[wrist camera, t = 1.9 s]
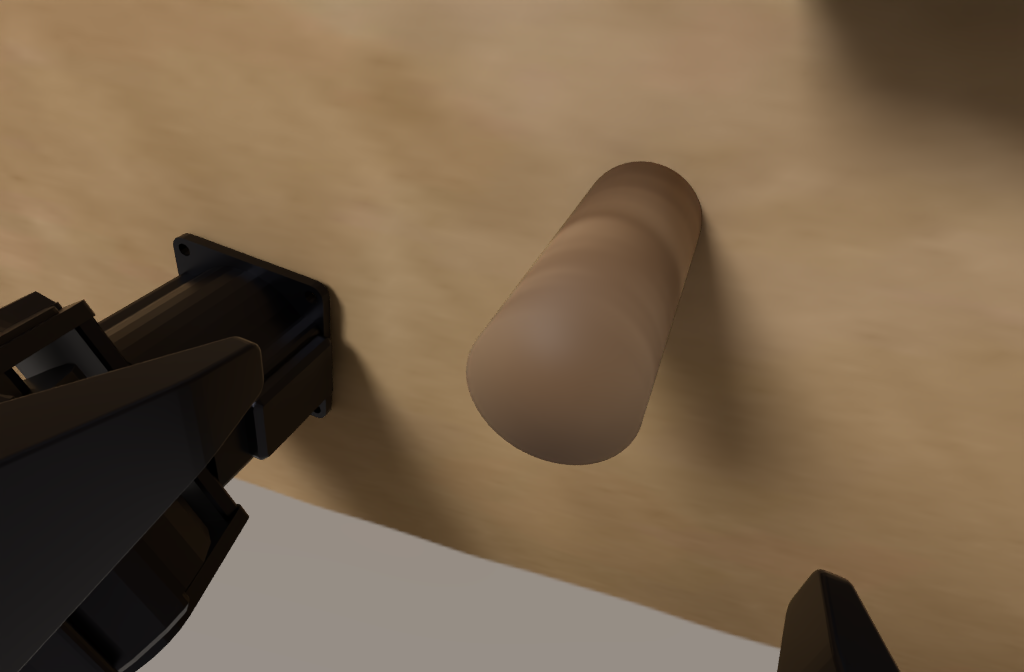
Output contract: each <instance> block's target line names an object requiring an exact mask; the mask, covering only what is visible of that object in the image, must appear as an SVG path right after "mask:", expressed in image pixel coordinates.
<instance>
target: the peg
mask: <svg viewBox="0 0 1024 672" xmlns="http://www.w3.org/2000/svg"><path fill="white" fill-rule="evenodd" d="M701 226H702V212H701V207H700V203H699V200H698V198H697V196H696V194H695V192H694V190H693V189H692V187H691V186H690V185H689V183H688V182H687V181H686V180H685V179H684V178H683V177H682V176H680V175H679V174H678V173H676V172H675V171H673V170H671V169H669V168H668V167H665V166H663V165H660V164H656V163H652V162H631V163H625V164H622V165H619V166H617V167H615V168H613V169H611V170H609V171H608V172H606V173H605V174H604V175H602V176H601V177H600V178H599V179H598V180H597V181H596V182H595V184H594V185H593V186H592V188H591V189H590V190H589V192H588V193H587V194H586V196H585V197H584V198H583V199H582V201H581V202H580V203H579V205H578V206H577V207H576V209H575V210H574V211H573V213H572V214H571V215H570V217H569V218H568V219H567V221H566V222H565V223H564V224H563V226H562V227H561V228H560V230H559V231H558V232H557V234H556V235H555V236H554V238H553V239H552V240H551V242H550V243H549V244H548V246H547V247H546V248H545V250H544V251H543V252H542V253H541V255H540V256H539V257H538V259H537V260H536V261H535V263H534V264H533V265H532V267H531V268H530V269H529V271H528V272H527V273H526V275H525V276H524V277H523V279H522V280H521V281H520V282H519V284H518V285H517V286H516V288H515V289H514V290H513V292H512V293H511V294H510V296H509V297H508V298H507V300H506V301H505V302H504V304H503V305H502V306H501V307H500V309H499V310H498V311H497V313H496V314H495V315H494V317H493V318H492V319H491V321H490V322H489V323H488V325H487V326H486V327H485V329H484V330H483V331H482V333H481V334H480V335H479V336H478V338H477V339H476V341H475V342H474V344H473V345H472V348H471V350H470V352H469V356H468V360H467V367H466V376H467V384H468V388H469V392H470V395H471V397H472V400H473V402H474V404H475V406H476V408H477V410H478V411H479V413H480V414H481V416H482V417H483V418H484V420H485V421H486V422H487V423H488V425H489V426H490V427H491V428H492V429H493V430H494V431H495V432H496V433H497V434H498V435H500V436H501V437H502V438H503V439H504V440H506V441H507V442H509V443H510V444H511V445H513V446H514V447H516V448H518V449H520V450H521V451H523V452H525V453H527V454H530V455H532V456H534V457H537V458H540V459H542V460H545V461H550V462H554V463H559V464H566V465H586V464H593V463H598V462H601V461H604V460H607V459H609V458H611V457H614V456H616V455H617V454H619V453H620V452H622V451H623V450H624V449H625V448H626V447H628V446H629V445H630V444H631V442H632V441H633V440H634V438H635V437H636V435H637V433H638V432H639V430H640V427H641V424H642V421H643V417H644V414H645V411H646V408H647V404H648V401H649V398H650V395H651V391H652V388H653V385H654V382H655V378H656V375H657V372H658V369H659V365H660V362H661V359H662V356H663V352H664V349H665V346H666V343H667V339H668V336H669V333H670V330H671V326H672V323H673V320H674V317H675V313H676V310H677V307H678V303H679V300H680V297H681V294H682V290H683V287H684V284H685V281H686V277H687V274H688V271H689V268H690V264H691V261H692V258H693V255H694V251H695V248H696V245H697V242H698V238H699V235H700V232H701Z"/></svg>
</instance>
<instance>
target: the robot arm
mask: <svg viewBox="0 0 1024 672" xmlns="http://www.w3.org/2000/svg"><path fill="white" fill-rule="evenodd" d="M173 247H174V252H175V257H176V262H177V268H178V273H179V276H177V277H176V278H174V279H172V280H171V281H169V282H167V283H165V284H164V285H162V286H160V287H159V288H157V289H155V290H153V291H152V292H150V293H148V294H146V295H145V296H143V297H141V298H140V299H138V300H136V301H134V302H133V303H131V304H129V305H128V306H126V307H124V308H122V309H121V310H119V311H117V312H116V313H114V314H112V315H110V316H109V317H107V318H105V319H103V320H102V321H100V322H98V323H97V321H96V320H95V319H94V318H93V316H95V313H94V312H93V311H92V309H91V308H90V307H89V305H88V304H87V303H86V301H85V300H81V301H79V302H76V303H73V304H71V305H68V306H66V307H63V308H62V306H61V305H60V304H59V303H58V302H56V303H55V302H54V301H52V300H50V299H48V298H47V297H45V296H43V295H41V294H40V293H38V292H36V291H35V292H33V293H31V294H29V295H26V296H24V297H22V298H20V299H18V300H16V301H14V302H12V303H10V304H8V305H6V306H4V307H2V308H0V672H135V671H137V670H138V669H140V668H141V667H142V666H143V665H145V664H146V663H147V662H148V661H150V660H151V659H152V658H153V657H154V656H155V655H157V654H158V653H159V652H160V651H161V650H162V649H163V648H164V647H165V646H166V645H167V644H168V643H169V642H170V641H171V640H172V638H173V637H174V636H175V635H176V634H177V633H178V632H179V630H180V629H181V628H182V626H183V625H184V623H185V622H186V621H187V619H188V618H189V616H190V615H191V613H192V611H193V610H194V608H195V607H196V605H197V603H198V602H199V600H200V598H201V597H202V595H203V593H204V591H205V590H206V588H207V587H208V585H209V583H210V582H211V580H212V578H213V577H214V575H215V573H216V572H217V570H218V568H219V567H220V565H221V563H222V562H223V560H224V558H225V557H226V555H227V553H228V552H229V550H230V549H231V547H232V545H233V543H234V542H235V540H236V538H237V537H238V535H239V534H240V532H241V530H242V528H243V527H244V525H245V524H246V522H247V520H248V518H249V515H248V514H247V513H246V512H245V510H244V509H243V508H242V506H241V505H240V504H236V503H235V502H234V501H233V499H232V498H231V497H230V495H229V494H228V493H227V491H226V490H225V489H224V486H225V485H226V484H227V483H228V482H229V481H230V480H231V479H232V478H233V477H234V476H235V475H236V474H237V473H238V472H239V471H240V470H241V469H242V468H243V467H244V466H245V465H246V464H247V463H248V462H249V461H250V460H251V459H252V458H253V457H255V458H257V459H260V460H263V459H265V458H267V457H269V456H270V455H271V454H272V453H273V452H274V451H275V450H276V449H277V448H278V447H279V446H280V445H281V444H282V443H283V442H284V441H285V440H286V439H287V438H288V437H289V436H290V435H291V434H292V433H293V432H294V431H295V430H296V429H297V428H298V427H299V426H300V425H301V424H302V423H303V422H304V421H305V420H306V419H307V418H308V417H309V416H310V415H312V416H315V417H318V418H323V417H324V416H325V415H326V414H327V413H328V412H329V411H330V410H331V407H332V396H331V393H332V391H333V378H332V344H331V341H330V296H329V292H328V290H327V288H326V287H325V286H324V285H323V284H322V283H320V282H319V281H317V280H314V279H311V278H308V277H306V276H303V275H300V274H298V273H295V272H292V271H290V270H287V269H284V268H281V267H279V266H276V265H273V264H271V263H268V262H265V261H262V260H260V259H257V258H254V257H252V256H249V255H246V254H244V253H241V252H238V251H235V250H233V249H230V248H227V247H225V246H222V245H219V244H217V243H214V242H211V241H208V240H206V239H203V238H200V237H198V236H195V235H192V234H188V233H185V234H183V235H181V236H179V237H177V238H175V240H174V241H173ZM313 293H314V294H315V296H316V297H315V296H314V295H313ZM14 366H16V367H17V368H18V369H19V370H20V372H21V373H22V374H23V375H24V376H25V378H26V380H22V379H21V378H20V377H19V376H18V374H17V373H16V372H15V371H14V370H13V369H12V367H14ZM777 672H900V670H899V668H898V667H897V665H896V663H895V661H894V659H893V658H892V656H891V654H890V652H889V650H888V648H887V647H886V645H885V643H884V641H883V639H882V638H881V636H880V634H879V632H878V630H877V629H876V627H875V625H874V623H873V621H872V619H871V618H870V616H869V614H868V612H867V610H866V609H865V607H864V605H863V603H862V601H861V599H860V598H859V596H858V594H857V592H856V590H855V589H854V587H853V585H852V584H851V583H850V582H849V581H848V580H847V579H845V578H843V577H840V576H838V575H835V574H833V573H830V572H828V571H825V570H821V569H819V570H816V571H814V572H813V573H812V574H811V576H810V577H809V578H808V579H807V581H806V582H805V583H804V584H803V586H802V587H801V588H800V589H799V591H798V592H797V593H796V594H795V596H794V597H793V598H792V600H791V601H790V603H789V606H788V609H787V612H786V617H785V624H784V630H783V637H782V643H781V650H780V657H779V663H778V670H777Z"/></svg>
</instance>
